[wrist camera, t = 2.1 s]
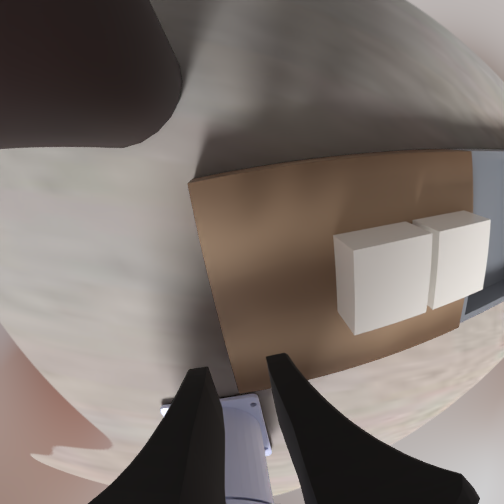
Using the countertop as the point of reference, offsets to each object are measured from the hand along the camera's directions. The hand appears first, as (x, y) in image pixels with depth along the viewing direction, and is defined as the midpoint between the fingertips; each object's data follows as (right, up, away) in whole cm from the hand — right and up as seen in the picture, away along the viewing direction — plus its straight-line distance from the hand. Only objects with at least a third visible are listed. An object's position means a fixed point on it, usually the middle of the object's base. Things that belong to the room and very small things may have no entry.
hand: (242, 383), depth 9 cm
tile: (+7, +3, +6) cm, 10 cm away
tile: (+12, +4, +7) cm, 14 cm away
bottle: (-7, +13, +5) cm, 16 cm away
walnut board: (+6, +4, +9) cm, 12 cm away
